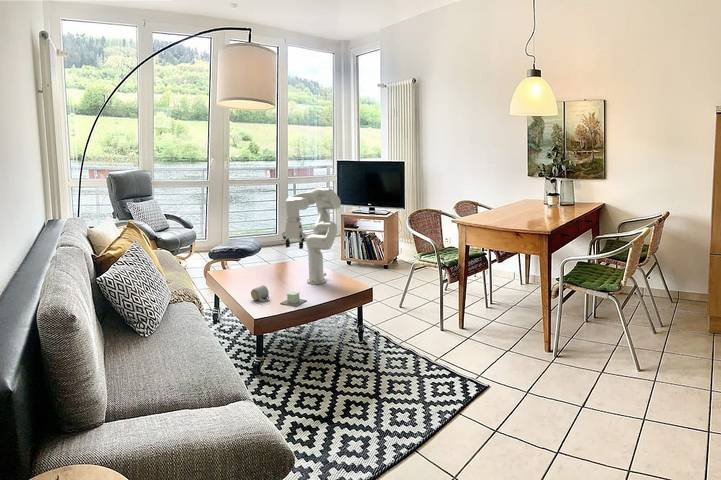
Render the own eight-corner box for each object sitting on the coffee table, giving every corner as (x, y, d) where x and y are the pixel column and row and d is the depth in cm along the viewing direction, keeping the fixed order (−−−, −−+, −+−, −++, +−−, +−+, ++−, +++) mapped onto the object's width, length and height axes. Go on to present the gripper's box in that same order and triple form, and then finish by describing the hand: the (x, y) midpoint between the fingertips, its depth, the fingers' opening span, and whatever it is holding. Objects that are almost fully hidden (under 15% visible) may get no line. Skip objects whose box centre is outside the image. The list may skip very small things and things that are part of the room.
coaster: (291, 298, 280) (291, 297, 280) (306, 300, 275) (306, 300, 275) (280, 303, 270) (280, 303, 270) (296, 306, 265) (296, 305, 265)
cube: (292, 299, 276) (292, 291, 275) (299, 300, 273) (299, 292, 272) (287, 302, 271) (287, 293, 270) (294, 303, 269) (294, 295, 268)
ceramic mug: (250, 299, 279) (249, 287, 277) (261, 296, 285) (260, 284, 283) (261, 303, 272) (260, 290, 271) (272, 299, 278) (272, 287, 277)
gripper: (308, 219, 281) (310, 247, 284) (285, 218, 289) (286, 245, 292) (301, 221, 275) (303, 250, 278) (277, 219, 282) (279, 247, 286)
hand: (294, 247), depth 285 cm, fingers open, 9 cm apart
